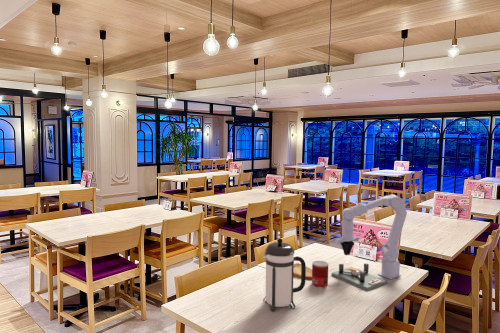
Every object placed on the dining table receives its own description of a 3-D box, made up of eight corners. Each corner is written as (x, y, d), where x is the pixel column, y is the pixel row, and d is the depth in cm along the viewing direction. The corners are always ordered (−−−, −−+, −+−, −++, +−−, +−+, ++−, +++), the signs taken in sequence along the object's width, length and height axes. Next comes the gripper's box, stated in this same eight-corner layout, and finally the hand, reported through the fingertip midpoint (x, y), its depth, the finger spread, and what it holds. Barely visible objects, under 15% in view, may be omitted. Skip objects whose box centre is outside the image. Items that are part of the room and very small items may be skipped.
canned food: (328, 288, 171) (328, 266, 170) (311, 286, 172) (312, 265, 172) (327, 282, 178) (328, 261, 177) (312, 280, 180) (312, 260, 179)
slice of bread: (320, 281, 181) (321, 274, 180) (286, 280, 181) (286, 273, 181) (316, 268, 198) (316, 262, 198) (284, 267, 199) (284, 261, 199)
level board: (351, 269, 196) (351, 263, 196) (387, 283, 177) (387, 276, 177) (331, 275, 187) (331, 268, 187) (367, 290, 168) (367, 283, 168)
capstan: (368, 271, 188) (368, 263, 188) (364, 282, 174) (364, 274, 173) (341, 267, 195) (342, 259, 194) (335, 277, 180) (335, 269, 180)
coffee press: (289, 317, 142) (290, 245, 140) (255, 307, 150) (256, 239, 148) (305, 301, 157) (306, 236, 155) (274, 292, 165) (275, 231, 163)
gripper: (353, 227, 196) (352, 250, 197) (332, 229, 190) (331, 254, 191) (361, 230, 189) (361, 254, 190) (340, 233, 183) (339, 258, 184)
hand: (346, 254), depth 190 cm, fingers closed
